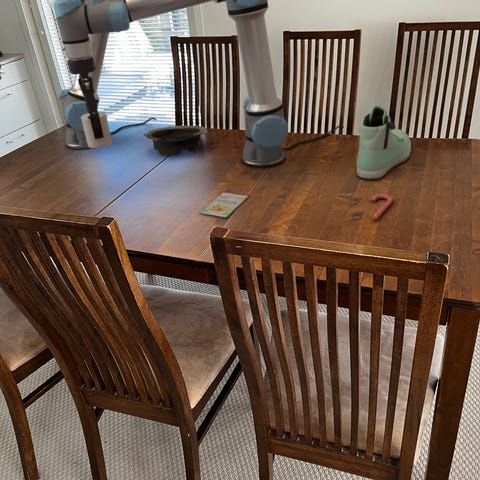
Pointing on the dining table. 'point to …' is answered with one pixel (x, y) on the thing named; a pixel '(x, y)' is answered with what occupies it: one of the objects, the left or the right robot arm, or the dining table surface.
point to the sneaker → (380, 145)
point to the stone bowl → (176, 139)
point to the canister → (90, 135)
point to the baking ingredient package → (224, 204)
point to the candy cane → (385, 206)
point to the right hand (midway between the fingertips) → (97, 134)
